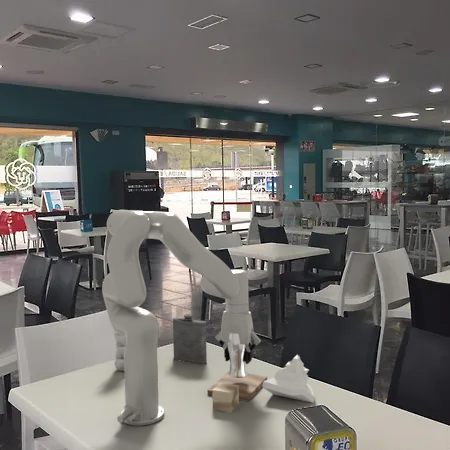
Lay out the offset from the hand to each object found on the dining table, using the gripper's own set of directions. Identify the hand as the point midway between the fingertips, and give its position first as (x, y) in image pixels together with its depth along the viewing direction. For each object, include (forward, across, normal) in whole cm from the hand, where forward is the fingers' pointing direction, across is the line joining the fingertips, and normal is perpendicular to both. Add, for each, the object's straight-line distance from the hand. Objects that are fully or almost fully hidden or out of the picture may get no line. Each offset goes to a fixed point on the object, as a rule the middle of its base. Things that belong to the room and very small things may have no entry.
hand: (238, 360), depth 170 cm
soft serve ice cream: (+9, +19, -1) cm, 21 cm away
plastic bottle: (+9, -45, 0) cm, 46 cm away
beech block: (+9, +2, -15) cm, 18 cm away
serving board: (+9, 0, 0) cm, 9 cm away
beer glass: (+5, 0, 0) cm, 5 cm away
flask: (+9, -27, +17) cm, 33 cm away
